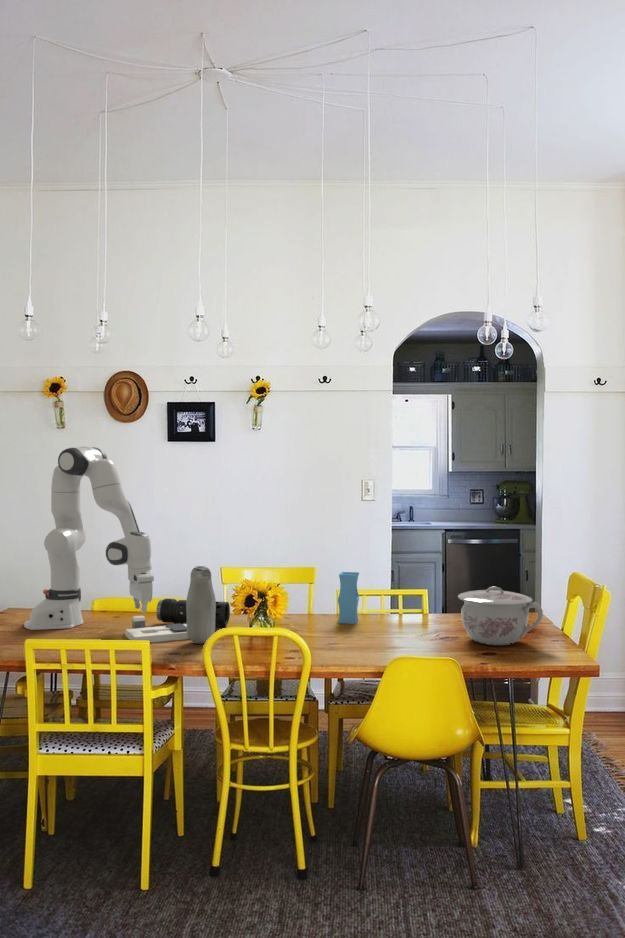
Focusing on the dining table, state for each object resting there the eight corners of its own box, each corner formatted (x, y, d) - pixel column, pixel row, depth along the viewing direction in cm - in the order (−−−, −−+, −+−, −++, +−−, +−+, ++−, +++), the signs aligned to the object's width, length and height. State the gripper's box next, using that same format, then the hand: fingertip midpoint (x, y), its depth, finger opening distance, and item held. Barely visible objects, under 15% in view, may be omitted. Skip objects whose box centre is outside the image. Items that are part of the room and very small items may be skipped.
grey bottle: (220, 642, 297) (220, 565, 296) (201, 647, 288) (202, 569, 287) (199, 638, 302) (200, 563, 301) (180, 644, 293) (181, 566, 293)
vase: (356, 623, 332) (357, 575, 331) (337, 623, 333) (338, 574, 332) (358, 620, 339) (359, 572, 339) (339, 619, 341) (340, 571, 340)
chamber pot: (443, 636, 312) (444, 582, 311) (504, 631, 321) (505, 579, 321) (483, 653, 285) (484, 594, 285) (548, 647, 295) (549, 591, 295)
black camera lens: (223, 629, 318) (224, 603, 318) (155, 626, 322) (155, 600, 322) (230, 624, 328) (230, 599, 327) (163, 621, 332) (163, 596, 331)
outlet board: (134, 644, 292) (135, 634, 292) (125, 635, 305) (125, 627, 305) (198, 638, 303) (198, 629, 303) (187, 630, 316) (187, 621, 315)
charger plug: (134, 634, 308) (134, 618, 308) (132, 631, 312) (132, 616, 312) (145, 633, 310) (145, 617, 310) (142, 630, 314) (142, 615, 314)
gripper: (125, 571, 318) (125, 606, 319) (138, 578, 300) (139, 615, 300) (140, 570, 321) (141, 605, 321) (155, 577, 303) (155, 614, 303)
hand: (140, 610), depth 311 cm, fingers open, 8 cm apart
